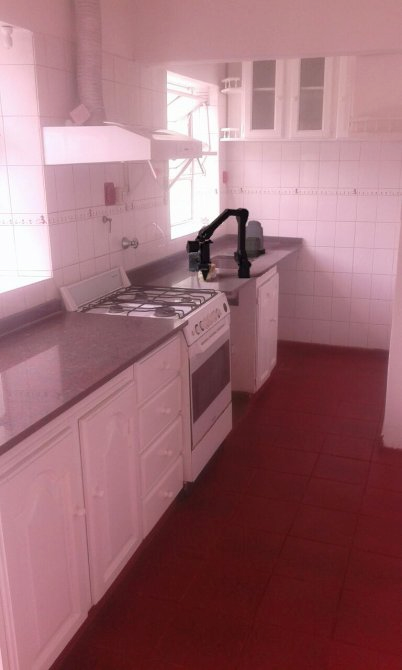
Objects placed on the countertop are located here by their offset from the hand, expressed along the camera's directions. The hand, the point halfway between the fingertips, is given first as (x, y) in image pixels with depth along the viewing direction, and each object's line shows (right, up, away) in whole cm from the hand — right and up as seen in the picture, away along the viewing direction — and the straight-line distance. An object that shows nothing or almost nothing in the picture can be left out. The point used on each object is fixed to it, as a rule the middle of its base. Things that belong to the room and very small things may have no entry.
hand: (205, 279), depth 349 cm
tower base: (+1, +3, +15) cm, 15 cm away
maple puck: (0, -1, 0) cm, 1 cm away
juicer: (+35, +26, +93) cm, 103 cm away
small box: (-5, +9, +36) cm, 37 cm away
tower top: (+2, +6, +14) cm, 15 cm away
